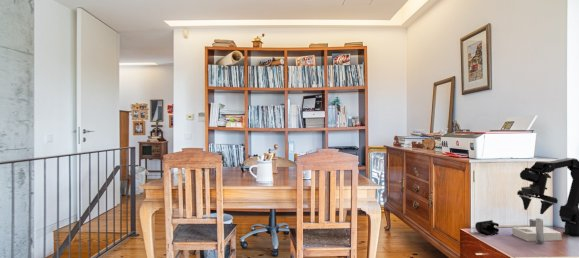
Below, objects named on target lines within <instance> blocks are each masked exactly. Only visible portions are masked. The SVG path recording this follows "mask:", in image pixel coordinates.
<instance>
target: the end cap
mask: <svg viewBox="0 0 579 258" xmlns="http://www.w3.org/2000/svg"><path fill="white" fill-rule="evenodd" d="M499 225H500V224H499V223H496V222H494V221H493V219H491V220H490V219H489V220H483V221H477V222H475V225H474V227H475V230H476V231H477V232H478V233H479V234H480V235H483V236H486V237H488V236H495V234H496V235H499V232H500V229H499V228H496V227H499Z"/></svg>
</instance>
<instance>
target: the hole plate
mask: <svg viewBox="0 0 579 258" xmlns="http://www.w3.org/2000/svg"><path fill="white" fill-rule="evenodd" d="M511 231H512V232H511V233H512V236H515V237H517V238H520V239H522V240H524V241H526V242H537V241H536V227H530V226H519V227H518V226H517V227H511ZM543 232H544V242H548V241H549V242H551V241H554V242H555V241H563V240H562V232H559V231H558V230H554V229H552V228H549V227H546V226H543Z"/></svg>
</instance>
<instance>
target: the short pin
mask: <svg viewBox="0 0 579 258" xmlns="http://www.w3.org/2000/svg"><path fill="white" fill-rule="evenodd" d="M528 221H529V227H536V219H533V218H532V219H531V218H530V219H529V220H528Z"/></svg>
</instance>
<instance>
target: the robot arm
mask: <svg viewBox="0 0 579 258" xmlns="http://www.w3.org/2000/svg"><path fill="white" fill-rule="evenodd" d="M562 168H566V169H568V171H570V177H571V179H572V181H571V185H570V189H569V193H568V197H567V201H566V203H565V204H564V205H560V208H559V211H558V213H559V214H558V215H559V217H560V221H561V222H562V223H564V231H562V233H563V234H566V235H569V236H572V237H579V159H577V158H574V157H565V158H562V159H556V160H552V161H535V162H534V164H533V165H532V166H531V167H524V169H523V170H521V172H520V173H519V177H520V179H521V180H524V181H527V182H531V183H530V184H529V186H521V190H520V189H519V190H517V194H516V195H517V196H518V197H519V198H520V199H521V201H522V204H523V209H524V210H525V211H527V210H528V208H529V206H530V204H531V201H532V198H533V199H534V198H535V199H538V200H540V201H539V202H540V203H541V205H540V209H539V210H540V211H539V214H541V215H543V214H544V213H546V211H547V210H549V209H550V207H552V206H554V205H555V204H558V201H559V200H558V198H557V197H553V196H550V195H546V194H545V191H547V190H548V187H547V183H548V182H547V181H548V179H552V177H551V175H550V173H552V172H555V170H557V169H562Z"/></svg>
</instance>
